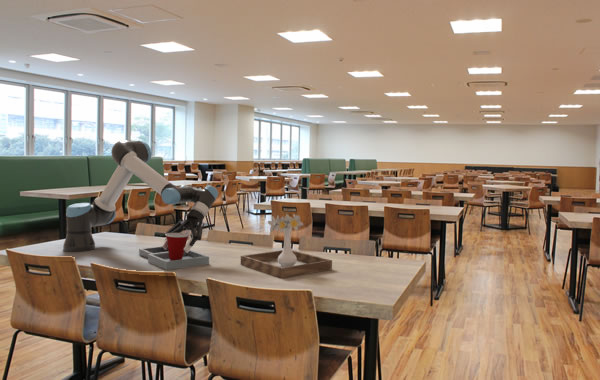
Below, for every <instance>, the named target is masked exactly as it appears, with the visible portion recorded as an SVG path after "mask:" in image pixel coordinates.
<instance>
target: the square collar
mask: <svg viewBox="0 0 600 380" xmlns="http://www.w3.org/2000/svg"><path fill="white" fill-rule="evenodd" d="M163 252H168V248H167V249H166V250H165V249H164V248H163V247H162V245H161V246H154V247H145V248H144V247H143V248H139V250H138V254H139V256H140V257H143V258H145V259H147V260H148V254H155V253H163Z"/></svg>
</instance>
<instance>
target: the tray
mask: <svg viewBox="0 0 600 380" xmlns="http://www.w3.org/2000/svg"><path fill="white" fill-rule="evenodd" d="M147 262H148V263H150V264H152V265H154V266H156V267H159V268H161V269H163V270H165V271H171V270H176V269H177V270H179V269H184V267H185V268H191V267H198V266H199V267H200V266H205V265H210V256H209V255H206V254H203V253H201V252H198V251H195V250H192V249H190V250H189V252H188V253H186V252H185V251H184V254H183V258H182V259H181V260H170V259H169V252H163V253H155V254H148V259H147Z"/></svg>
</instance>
